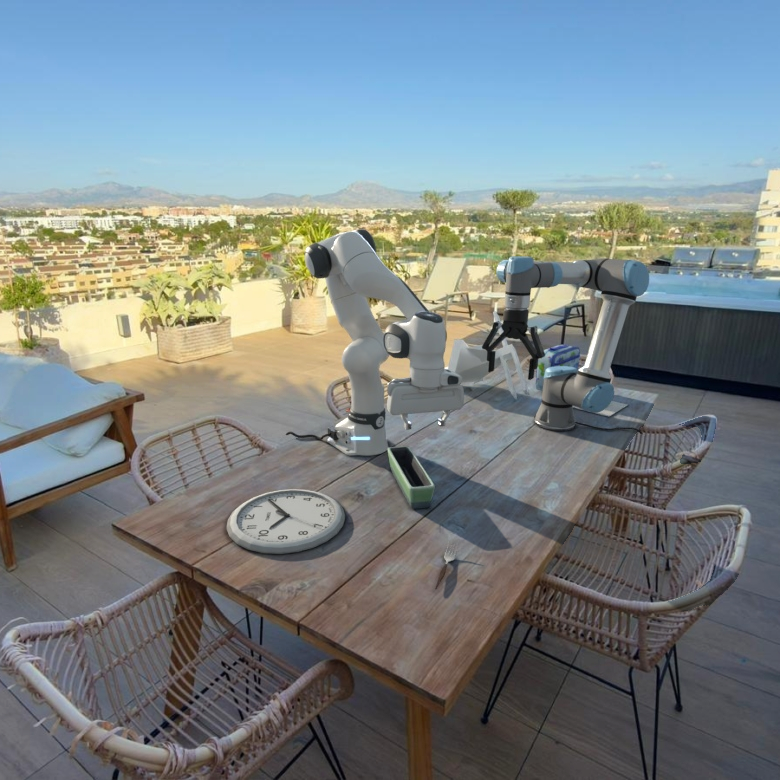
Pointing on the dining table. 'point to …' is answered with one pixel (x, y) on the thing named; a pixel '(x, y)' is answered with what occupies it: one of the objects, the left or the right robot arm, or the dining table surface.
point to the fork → (448, 558)
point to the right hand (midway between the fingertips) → (510, 375)
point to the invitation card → (610, 408)
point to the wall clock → (285, 521)
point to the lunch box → (556, 361)
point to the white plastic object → (484, 362)
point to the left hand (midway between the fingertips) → (424, 427)
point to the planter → (411, 477)
